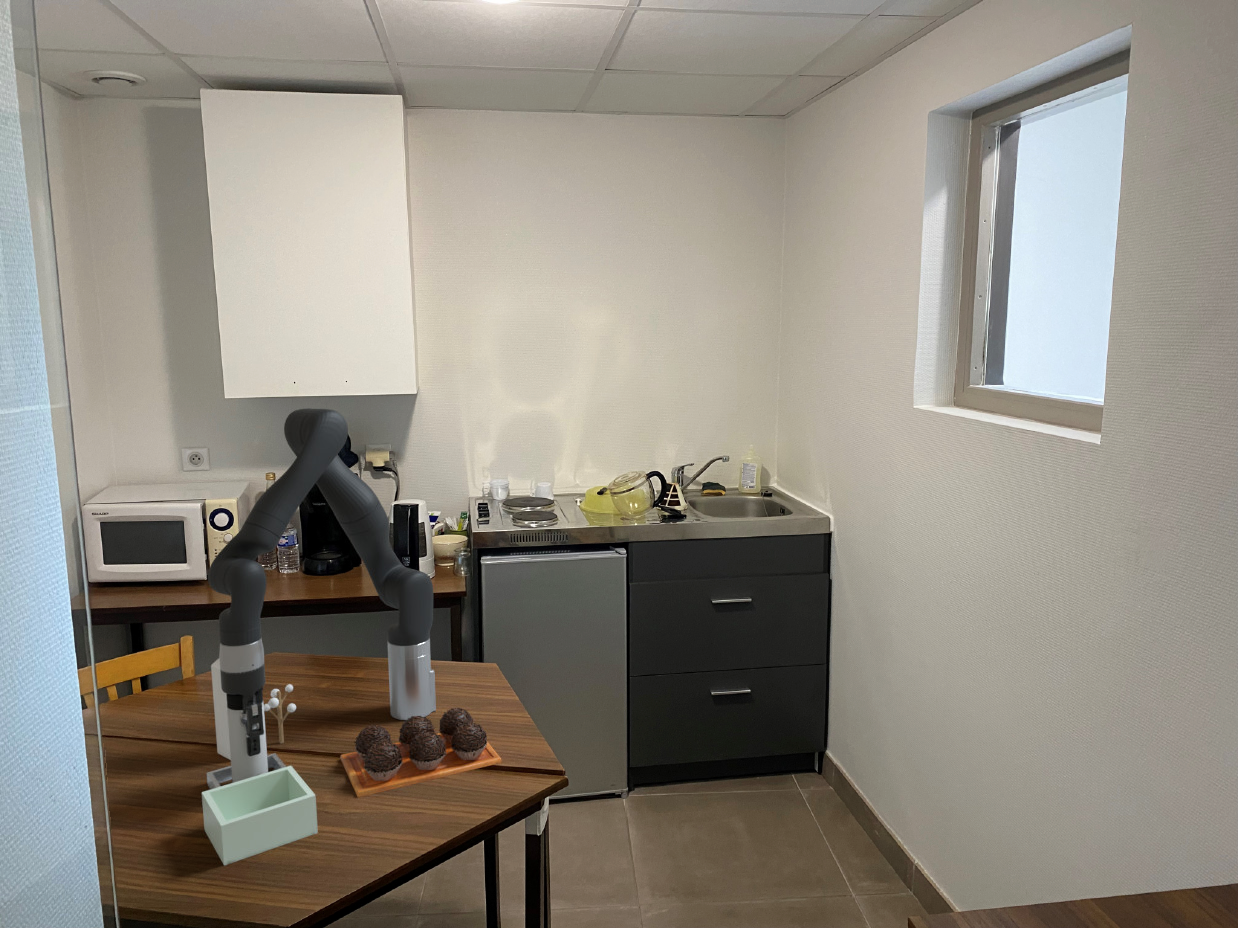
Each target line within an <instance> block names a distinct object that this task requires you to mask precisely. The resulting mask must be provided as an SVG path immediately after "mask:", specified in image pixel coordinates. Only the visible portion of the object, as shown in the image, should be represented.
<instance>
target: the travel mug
mask: <svg viewBox="0 0 1238 928" xmlns="http://www.w3.org/2000/svg"><path fill="white" fill-rule="evenodd" d="M263 691H264V686H263V687H262V688H261V689H259V690H257V691H256V692H255V697H256V703H260V702H261V704H262V715H263V728H264V734H263V735H260V748H261V752H260V753H259V754H257V755H254V756H248V754H247V744H246V736H245V730H244V727H243V726H241V725H240V719H239V712H241V713H243V707H242V697H243V696H242V695H239V694H237V695H231V694H226V696H227V715H228V728H229V742H230V756H231V760H230V766H231V769H232V782H231V783H234V782H238V781H241V780H244V779H248V778H251V777H254V776H258V775H261V774H264V773H268V772H269V769H268V762H267V755H268V750H267V734H266V721H265V719H266V718H265V711H264V705H265V704H264V694H263ZM243 718H244V719H245V720H247V715H246V714H244V713H243ZM253 729H256V726H255V724H253V725H252V730H253Z"/></svg>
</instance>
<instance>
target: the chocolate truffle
mask: <svg viewBox="0 0 1238 928" xmlns="http://www.w3.org/2000/svg"><path fill="white" fill-rule="evenodd" d="M438 724H439V730H438V731H439V732H438V733H436V731H435V729H436V728H435V725H433V723H432V721H431V719H429V718H427V716H425V717H422V716H411V718H408V720H404V722H402V724H401V728H399V732H398V733H399V736H398V742H394V743H393V742H392V737H391V733H390V732H388V729H387V728H385V727H384V726H382V725H377V724H371V725H368V726H366V727H365V728H363V729H361V730H360V732H359V733H358V736H356V737H355V741H354V744H355V749H354V750H355V751H354V752H349V753H343V754H341V755H340V761H341V763H342V766H343V768H344V769H345V773H346V775H347V777H348V779H349V781H350V783H351V785H352V788H353V790H354V793H355V794H356V796H357V798H361V797H362V798H363V797H366V796H371V795H374V794H378V793H379V794H380V793H384V792H387V791H390V790H394V789H398V788H402V787H408V786H411V785H415V784H419V783H424V782H428V781H431V780H435V779H436V780H437V779H441V778H443V777H447V776H448V777H449V776H452V775H456V774H457V775H458V774H461V773H465V772H468V771H473V770H477V769H478V770H479V769H480V768H486V767H489V766H493V764H494V765H497V764H496V763H498V764H501V763H503V762H502V758H501V756H500V755H499V754H498V753H497V752H496V751H495V749H494V748H493V747H492V745H491V744H490V743H489V741H487V740H488V739H487V738H488V737H487V733H486V731H485V729H484V728H483V726H481V724H480V723H479V724H477V723H476V722H474V718H473V717H472V715H471V714H470V713H469V712H468V710H467V709H463V708H461V707H455V708H454V707H451V709H447V710H446V711H445V712H444V713H443V714H442V717H441V718H440V719H439V723H438Z"/></svg>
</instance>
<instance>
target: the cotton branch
mask: <svg viewBox="0 0 1238 928" xmlns="http://www.w3.org/2000/svg"><path fill="white" fill-rule="evenodd" d="M284 690H285V692H284V694H283V696H282V693H281V691H280V689H278V688H273V689H272V690H271V691H270V697H271V698H270V699H269V700H268V703H265V704H264V712H269V713H271V715H272V716H274V717H275V718H276V719H277V725H278V739H279V741H278V743H279V744H284V743H285V739H284V738H285V735H284V721H285V719H286V718H287V716H288V715H290V713H294V712H295V711H296V710H297V705H296V704H295V703H288V705H287V706H286V710H287V711H286V713H285V714H284V715H283V707H282V706H283V703H284V701H285V699H286V698H287V697H288V694H289V693H291V692H293V690H294V686H293V684H290V683H289V684H287V685H286V686H285V688H284ZM275 708H276V709H277V712H274V711H273V710H272V709H275ZM276 713H277V714H276Z"/></svg>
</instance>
